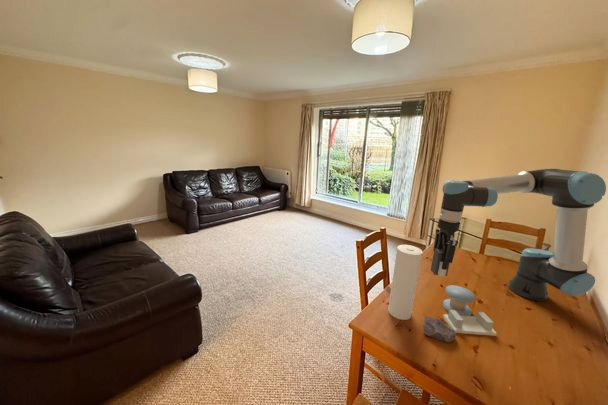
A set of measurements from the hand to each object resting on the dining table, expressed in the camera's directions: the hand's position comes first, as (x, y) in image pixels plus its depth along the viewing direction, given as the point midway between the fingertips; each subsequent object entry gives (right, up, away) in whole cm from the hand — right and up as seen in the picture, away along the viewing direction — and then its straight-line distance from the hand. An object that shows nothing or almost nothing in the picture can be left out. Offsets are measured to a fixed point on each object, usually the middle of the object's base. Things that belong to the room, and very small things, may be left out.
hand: (438, 272), depth 104 cm
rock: (-5, -22, -8) cm, 24 cm away
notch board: (+10, -21, -3) cm, 23 cm away
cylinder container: (-15, -18, +3) cm, 24 cm away
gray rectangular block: (0, 0, 0) cm, 0 cm away
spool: (+12, -18, +7) cm, 23 cm away
